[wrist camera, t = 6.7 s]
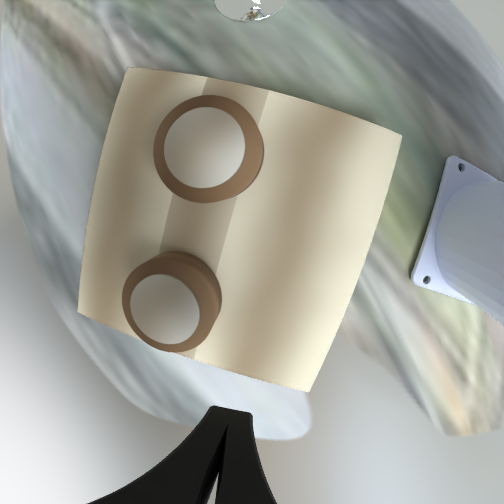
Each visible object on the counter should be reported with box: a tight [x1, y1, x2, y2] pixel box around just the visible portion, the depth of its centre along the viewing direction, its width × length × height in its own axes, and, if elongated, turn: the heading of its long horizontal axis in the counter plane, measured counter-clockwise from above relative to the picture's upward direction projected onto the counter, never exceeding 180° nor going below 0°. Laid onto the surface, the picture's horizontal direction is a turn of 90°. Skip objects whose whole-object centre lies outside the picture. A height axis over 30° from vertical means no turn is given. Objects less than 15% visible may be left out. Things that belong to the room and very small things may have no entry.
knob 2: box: [122, 251, 222, 352], centre depth 16 cm, size 4×4×5 cm
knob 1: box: [153, 95, 264, 203], centre depth 14 cm, size 4×4×5 cm
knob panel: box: [78, 67, 403, 392], centre depth 16 cm, size 14×14×3 cm
